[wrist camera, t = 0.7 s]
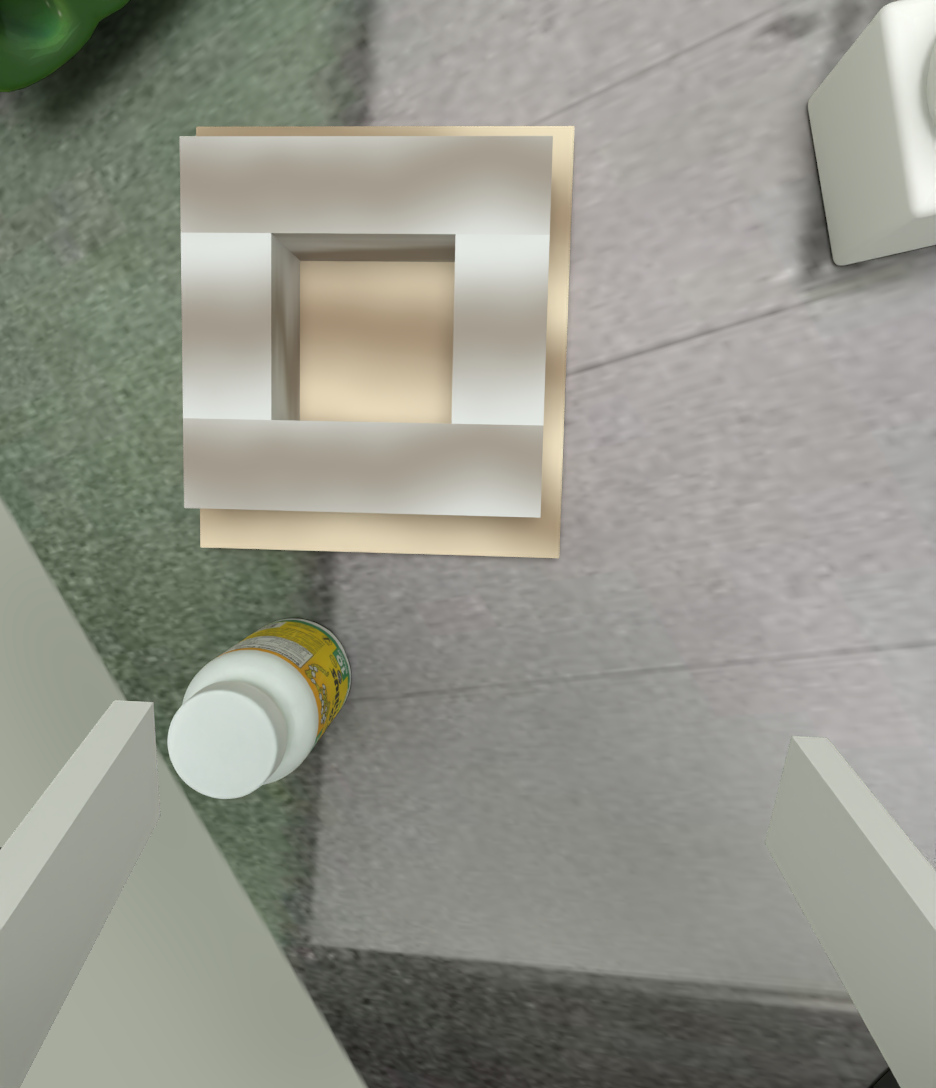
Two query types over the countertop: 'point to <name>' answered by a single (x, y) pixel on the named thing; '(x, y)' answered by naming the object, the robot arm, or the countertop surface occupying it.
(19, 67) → the piggy bank
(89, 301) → the countertop surface
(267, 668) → the supplement bottle
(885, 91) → the medicine bottle
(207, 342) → the block
